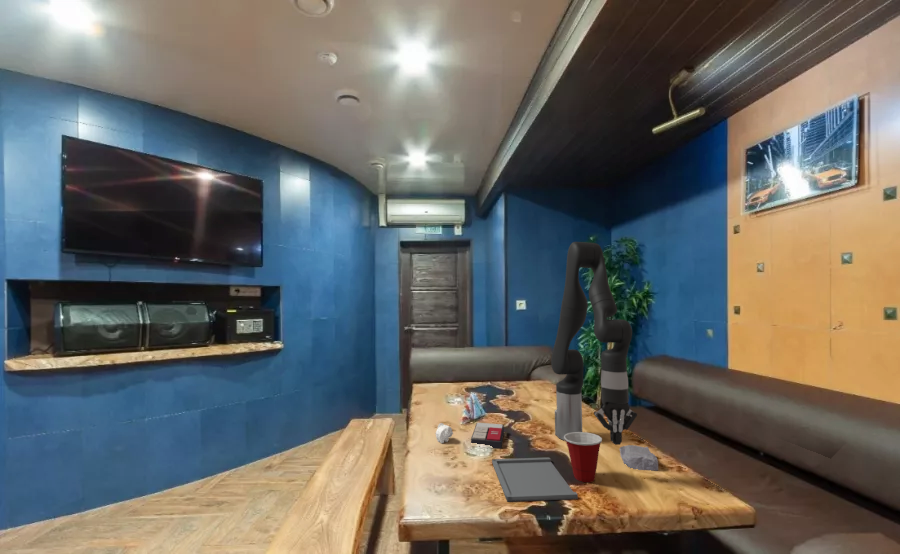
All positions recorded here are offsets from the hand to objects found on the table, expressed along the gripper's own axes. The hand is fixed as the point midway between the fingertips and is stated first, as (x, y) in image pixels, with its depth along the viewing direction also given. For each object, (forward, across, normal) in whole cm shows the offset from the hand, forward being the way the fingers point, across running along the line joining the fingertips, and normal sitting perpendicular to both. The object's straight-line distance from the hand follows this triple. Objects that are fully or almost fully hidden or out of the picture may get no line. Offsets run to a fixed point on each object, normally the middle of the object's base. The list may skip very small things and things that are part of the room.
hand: (616, 443), depth 107 cm
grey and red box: (+10, +34, -30) cm, 47 cm away
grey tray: (+10, +26, 0) cm, 28 cm away
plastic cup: (+10, +10, 0) cm, 14 cm away
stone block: (+10, -11, -9) cm, 17 cm away
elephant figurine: (+10, +50, -30) cm, 60 cm away
